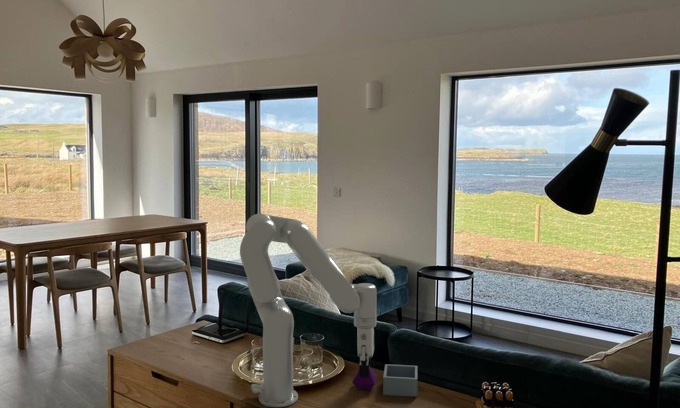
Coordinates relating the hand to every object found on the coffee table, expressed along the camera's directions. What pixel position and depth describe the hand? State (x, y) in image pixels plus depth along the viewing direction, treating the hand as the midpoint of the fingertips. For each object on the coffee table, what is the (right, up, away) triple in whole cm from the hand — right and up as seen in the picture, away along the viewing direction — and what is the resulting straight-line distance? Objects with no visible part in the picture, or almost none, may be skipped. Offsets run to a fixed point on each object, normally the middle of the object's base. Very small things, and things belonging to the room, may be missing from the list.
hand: (365, 372), depth 190 cm
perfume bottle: (0, -6, +1) cm, 6 cm away
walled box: (+12, -5, 0) cm, 13 cm away
